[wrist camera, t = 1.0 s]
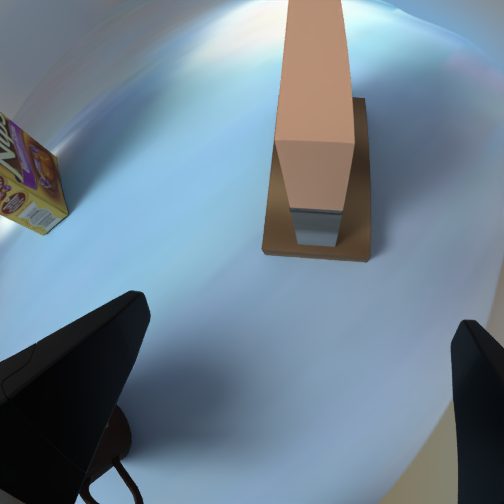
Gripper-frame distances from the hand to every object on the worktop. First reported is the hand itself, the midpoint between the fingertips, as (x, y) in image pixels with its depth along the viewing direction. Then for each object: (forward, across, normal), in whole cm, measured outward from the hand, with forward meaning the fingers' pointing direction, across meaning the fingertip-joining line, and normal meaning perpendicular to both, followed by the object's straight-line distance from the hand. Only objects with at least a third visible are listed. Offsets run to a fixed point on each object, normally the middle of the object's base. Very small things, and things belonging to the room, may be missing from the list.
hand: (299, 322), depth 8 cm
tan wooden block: (+12, 0, -4) cm, 12 cm away
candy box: (+16, +27, +3) cm, 31 cm away
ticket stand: (+17, 0, +1) cm, 17 cm away
